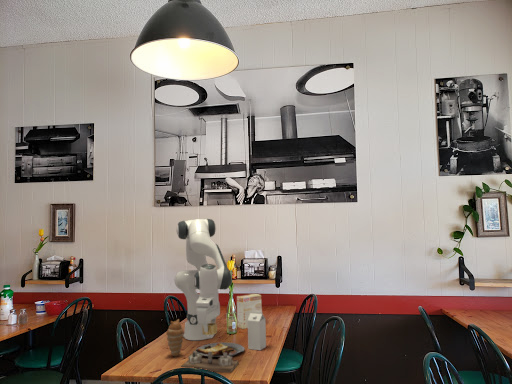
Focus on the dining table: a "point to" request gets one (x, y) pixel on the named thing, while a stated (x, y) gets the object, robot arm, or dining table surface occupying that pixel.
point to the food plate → (219, 349)
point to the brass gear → (210, 329)
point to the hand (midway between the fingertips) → (209, 329)
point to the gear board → (213, 366)
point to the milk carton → (256, 331)
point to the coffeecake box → (247, 308)
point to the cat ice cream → (175, 337)
